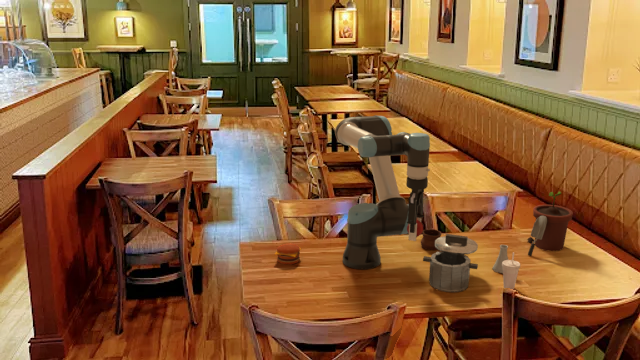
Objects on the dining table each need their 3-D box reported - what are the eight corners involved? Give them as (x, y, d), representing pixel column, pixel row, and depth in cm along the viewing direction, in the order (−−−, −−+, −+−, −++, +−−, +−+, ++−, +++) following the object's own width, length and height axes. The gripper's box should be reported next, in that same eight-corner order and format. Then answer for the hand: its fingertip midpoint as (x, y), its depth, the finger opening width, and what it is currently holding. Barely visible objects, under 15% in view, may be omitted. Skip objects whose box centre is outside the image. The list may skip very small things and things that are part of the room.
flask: (512, 274, 238) (514, 250, 235) (492, 273, 239) (494, 248, 237) (510, 267, 245) (512, 243, 242) (491, 265, 246) (493, 241, 243)
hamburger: (296, 265, 245) (296, 250, 243) (273, 263, 248) (273, 248, 246) (303, 256, 254) (303, 241, 252) (280, 254, 256) (280, 239, 254)
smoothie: (508, 293, 223) (512, 256, 219) (496, 285, 229) (499, 250, 225) (521, 289, 226) (525, 253, 222) (509, 282, 231) (512, 247, 227)
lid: (430, 250, 234) (431, 240, 232) (439, 236, 248) (439, 226, 247) (474, 257, 228) (475, 246, 227) (480, 241, 242) (480, 231, 241)
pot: (418, 287, 227) (419, 262, 224) (426, 272, 240) (427, 248, 237) (472, 296, 220) (475, 270, 218) (478, 280, 233) (480, 255, 230)
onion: (418, 242, 225) (419, 221, 223) (404, 238, 228) (404, 218, 226) (425, 237, 230) (426, 216, 228) (410, 234, 233) (411, 213, 231)
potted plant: (578, 253, 258) (585, 196, 251) (528, 256, 255) (534, 198, 248) (556, 237, 274) (562, 183, 267) (509, 240, 271) (515, 185, 264)
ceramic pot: (425, 235, 277) (426, 221, 274) (460, 247, 265) (461, 231, 263) (401, 248, 264) (401, 232, 262) (436, 260, 253) (437, 244, 250)
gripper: (421, 184, 213) (418, 247, 219) (433, 171, 230) (430, 230, 236) (400, 182, 215) (397, 244, 222) (413, 169, 232) (410, 227, 239)
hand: (414, 237), depth 229 cm, fingers closed on onion, 6 cm apart
